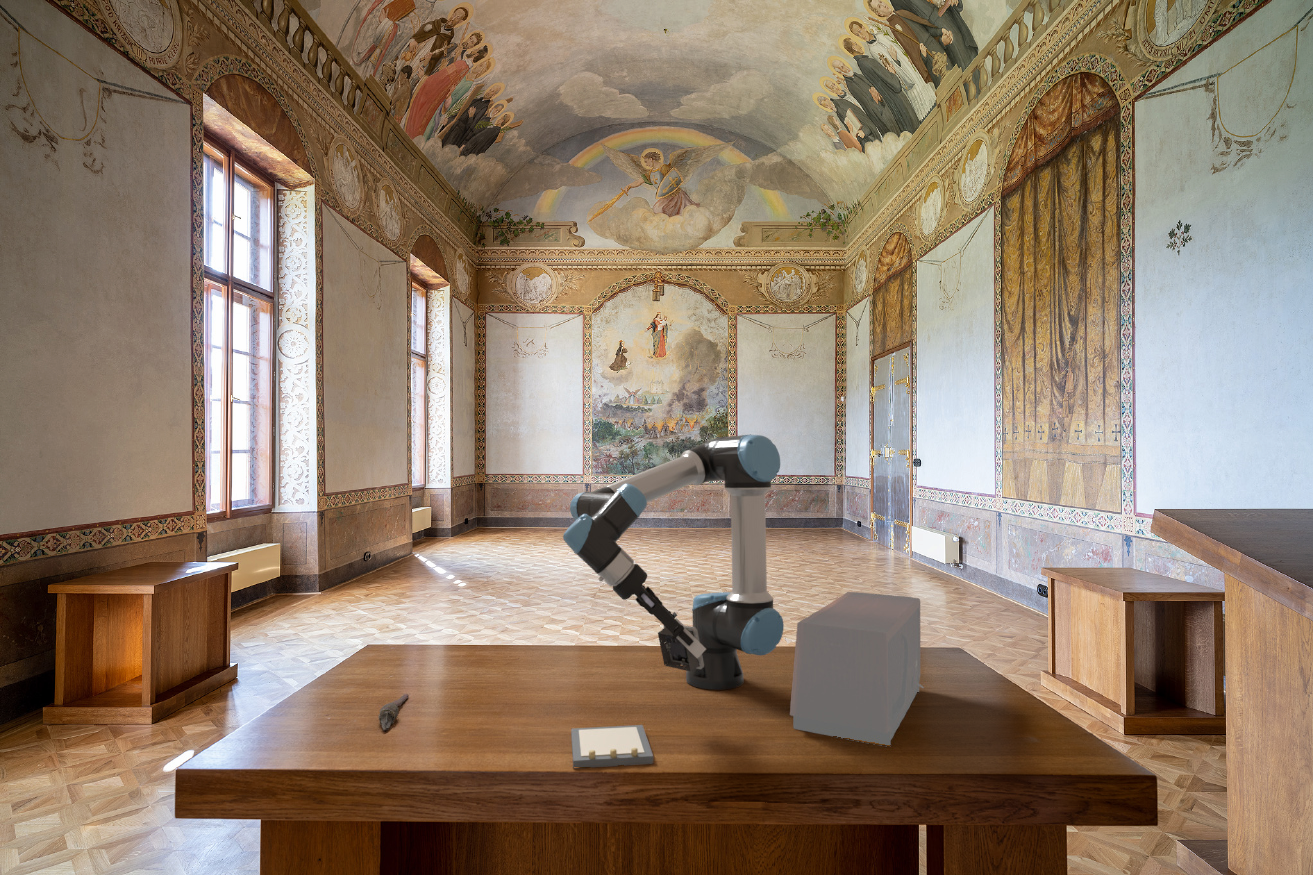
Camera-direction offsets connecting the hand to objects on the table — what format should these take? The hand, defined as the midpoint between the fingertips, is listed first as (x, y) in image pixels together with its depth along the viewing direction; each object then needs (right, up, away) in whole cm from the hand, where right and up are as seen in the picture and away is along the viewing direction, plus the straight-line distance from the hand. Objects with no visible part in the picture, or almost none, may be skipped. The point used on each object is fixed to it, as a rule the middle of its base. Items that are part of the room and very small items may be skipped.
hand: (696, 647), depth 144 cm
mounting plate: (-18, -16, -12) cm, 27 cm away
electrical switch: (-3, -4, -1) cm, 6 cm away
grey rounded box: (+40, -18, +11) cm, 45 cm away
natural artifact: (-68, -18, +7) cm, 71 cm away
